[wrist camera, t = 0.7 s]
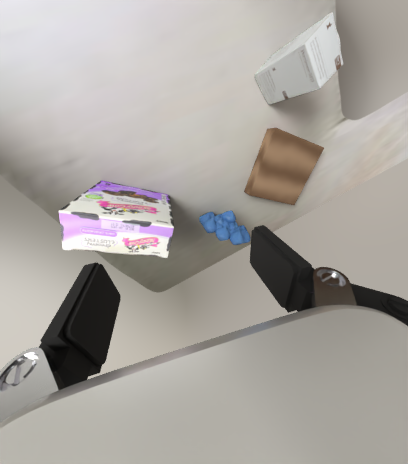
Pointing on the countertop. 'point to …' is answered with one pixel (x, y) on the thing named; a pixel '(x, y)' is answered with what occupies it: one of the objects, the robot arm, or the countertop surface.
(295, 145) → the walnut board
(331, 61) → the skincare box
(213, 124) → the countertop surface
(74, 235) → the candy box
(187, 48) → the countertop surface
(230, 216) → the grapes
